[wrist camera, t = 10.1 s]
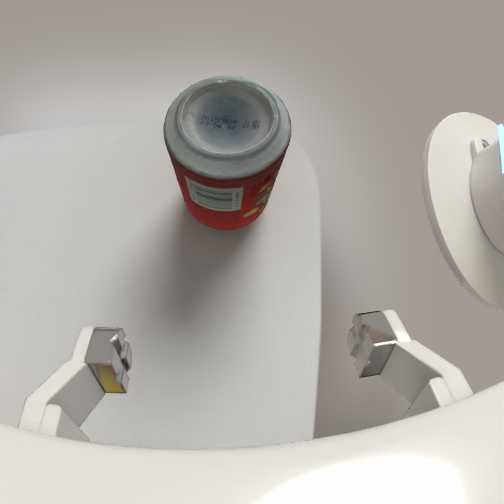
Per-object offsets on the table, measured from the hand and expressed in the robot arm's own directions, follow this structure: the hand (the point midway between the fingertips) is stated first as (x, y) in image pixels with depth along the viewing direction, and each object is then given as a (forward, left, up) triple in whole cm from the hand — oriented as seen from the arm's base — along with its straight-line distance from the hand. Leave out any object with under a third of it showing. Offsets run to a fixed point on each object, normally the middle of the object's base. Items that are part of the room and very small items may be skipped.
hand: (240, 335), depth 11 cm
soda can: (-4, -10, -15) cm, 19 cm away
